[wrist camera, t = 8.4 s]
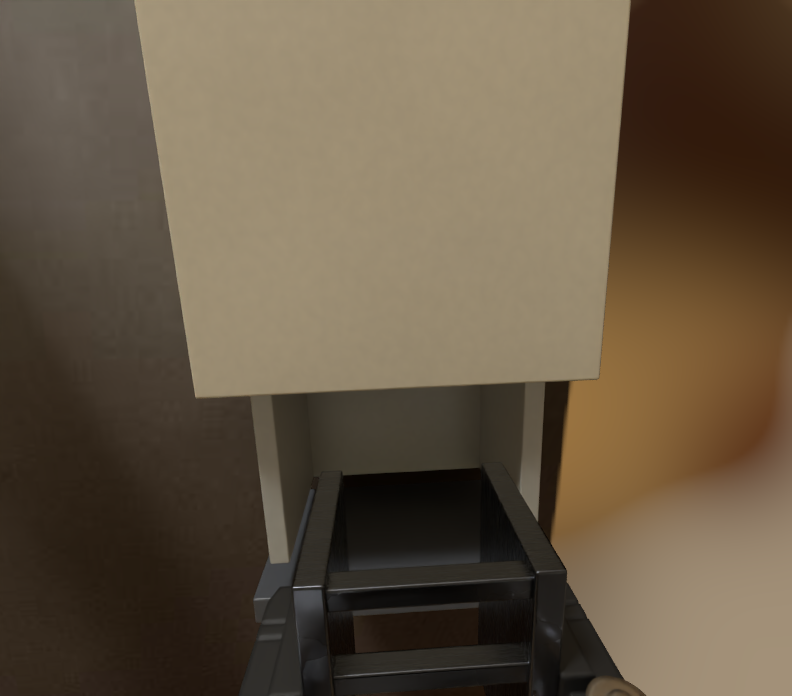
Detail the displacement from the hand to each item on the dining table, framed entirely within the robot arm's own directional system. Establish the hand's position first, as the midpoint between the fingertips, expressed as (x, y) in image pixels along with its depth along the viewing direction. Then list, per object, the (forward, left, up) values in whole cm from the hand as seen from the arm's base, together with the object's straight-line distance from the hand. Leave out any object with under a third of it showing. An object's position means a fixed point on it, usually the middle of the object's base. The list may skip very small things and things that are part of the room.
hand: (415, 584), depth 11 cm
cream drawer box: (+15, 0, -13) cm, 20 cm away
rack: (0, 0, 0) cm, 0 cm away
